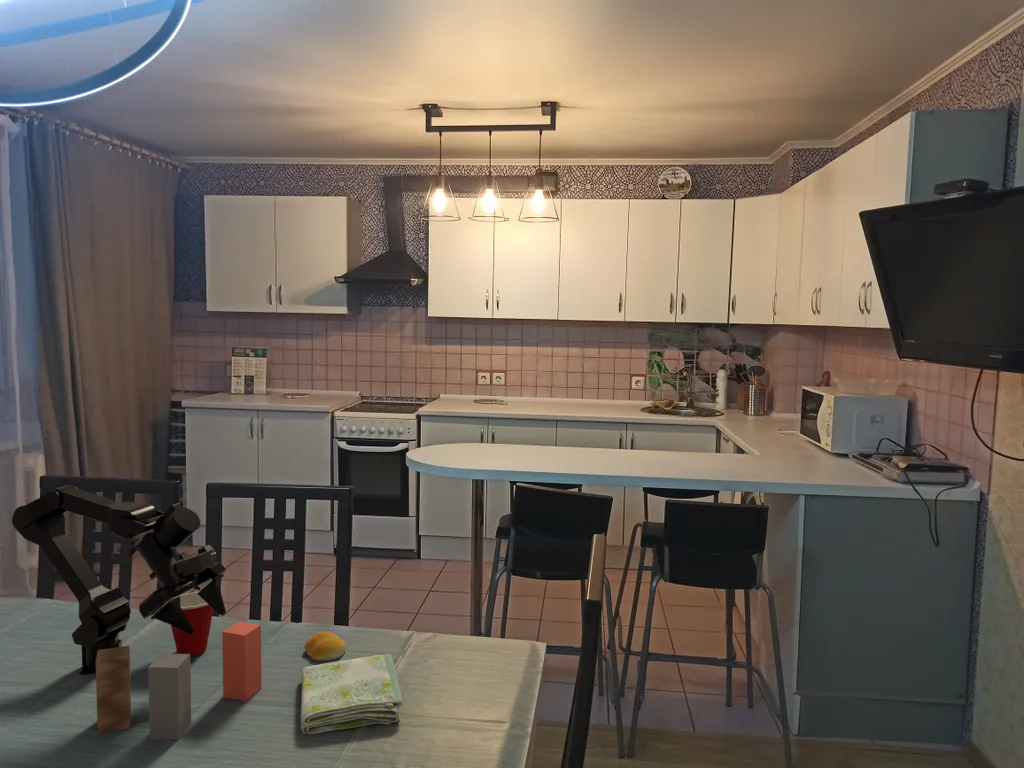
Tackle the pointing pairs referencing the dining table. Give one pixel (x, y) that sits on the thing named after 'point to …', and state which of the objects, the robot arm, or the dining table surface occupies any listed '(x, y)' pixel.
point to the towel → (350, 694)
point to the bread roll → (325, 646)
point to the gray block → (169, 696)
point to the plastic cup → (200, 621)
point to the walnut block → (113, 689)
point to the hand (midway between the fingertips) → (208, 623)
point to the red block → (241, 660)
